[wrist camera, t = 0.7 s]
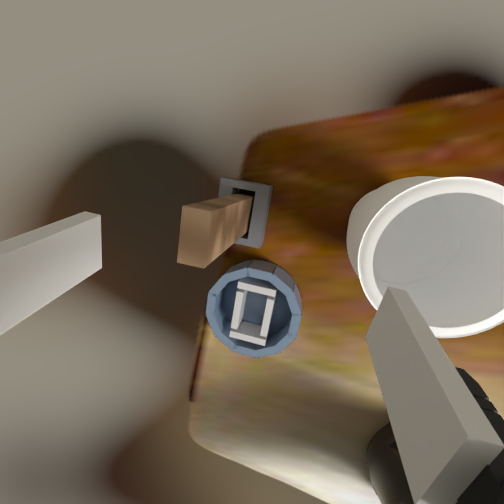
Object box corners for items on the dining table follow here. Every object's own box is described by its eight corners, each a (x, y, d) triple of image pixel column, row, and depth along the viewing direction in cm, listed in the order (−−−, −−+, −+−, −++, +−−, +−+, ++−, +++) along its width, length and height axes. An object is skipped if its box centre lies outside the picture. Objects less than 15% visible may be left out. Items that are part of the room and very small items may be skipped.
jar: (319, 238, 34) (325, 282, 20) (376, 157, 31) (431, 140, 16) (398, 287, 33) (462, 369, 19) (463, 210, 30) (598, 241, 16)
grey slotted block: (262, 243, 35) (259, 248, 33) (219, 234, 36) (212, 238, 34) (273, 185, 33) (270, 186, 31) (226, 177, 34) (220, 177, 32)
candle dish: (291, 348, 38) (289, 366, 34) (212, 327, 40) (201, 343, 36) (309, 270, 35) (309, 281, 31) (223, 251, 37) (212, 259, 33)
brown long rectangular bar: (250, 228, 35) (203, 268, 20) (234, 225, 35) (176, 262, 20) (256, 195, 34) (211, 211, 19) (239, 192, 34) (182, 205, 19)
